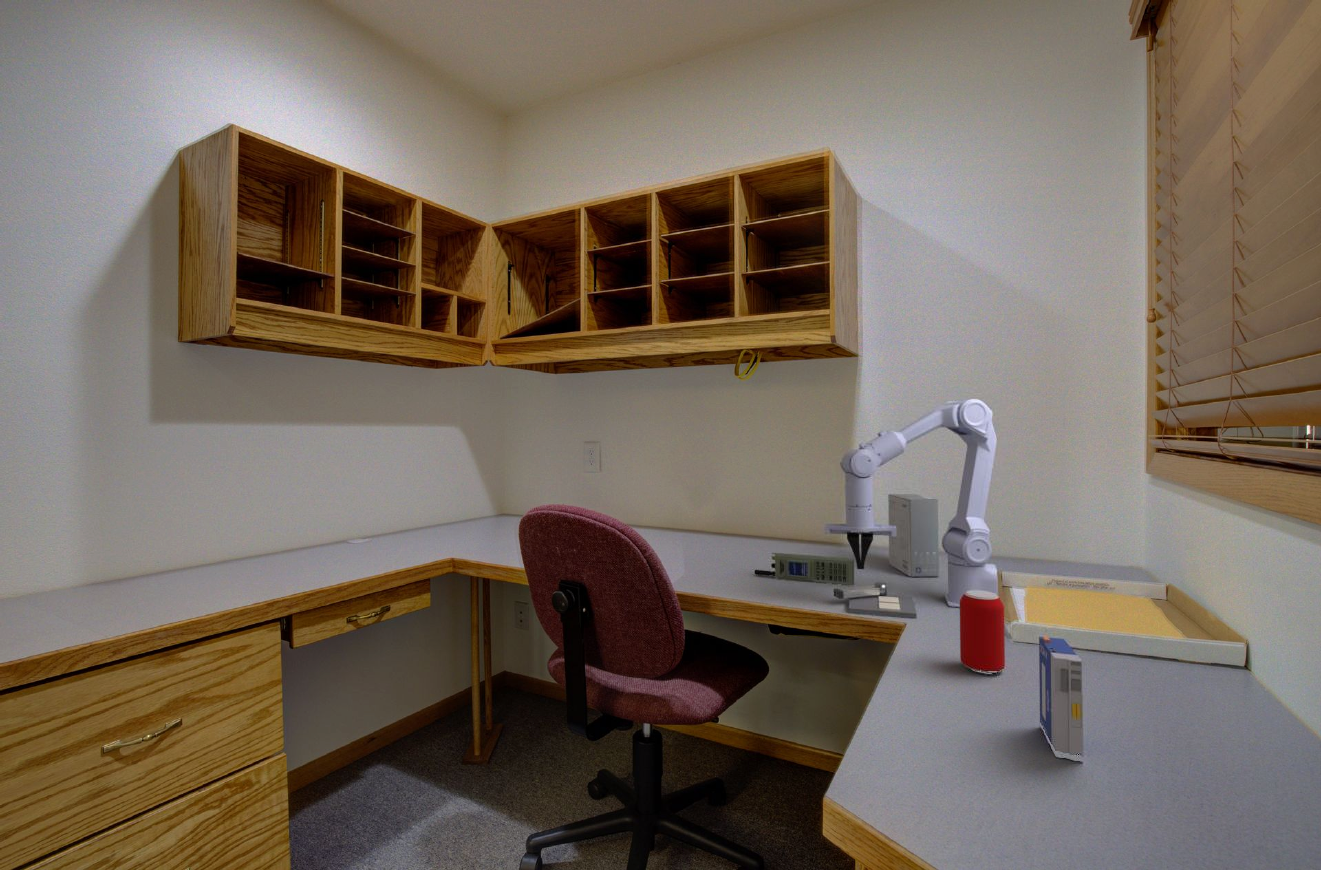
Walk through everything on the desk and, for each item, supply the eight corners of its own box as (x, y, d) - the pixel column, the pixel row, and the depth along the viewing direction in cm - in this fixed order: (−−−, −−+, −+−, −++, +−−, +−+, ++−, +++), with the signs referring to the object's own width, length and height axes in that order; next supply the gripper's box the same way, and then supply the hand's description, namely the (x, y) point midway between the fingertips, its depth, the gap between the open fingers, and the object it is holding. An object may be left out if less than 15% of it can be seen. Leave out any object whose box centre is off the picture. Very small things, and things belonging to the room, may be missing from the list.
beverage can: (1004, 680, 91) (1003, 601, 90) (958, 672, 94) (957, 596, 94) (1005, 666, 96) (1004, 591, 96) (962, 659, 99) (961, 586, 99)
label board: (912, 600, 132) (912, 594, 132) (916, 618, 120) (916, 612, 120) (850, 596, 137) (850, 590, 137) (848, 613, 124) (848, 606, 124)
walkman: (1039, 727, 76) (1038, 633, 76) (1065, 730, 75) (1064, 636, 75) (1055, 759, 69) (1054, 655, 69) (1083, 763, 68) (1082, 658, 68)
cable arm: (889, 595, 132) (889, 584, 132) (839, 599, 129) (839, 589, 129) (882, 592, 135) (882, 581, 135) (833, 596, 132) (833, 586, 132)
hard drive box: (940, 577, 152) (939, 499, 152) (909, 578, 152) (908, 499, 152) (915, 563, 168) (914, 492, 167) (887, 564, 168) (886, 493, 168)
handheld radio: (853, 587, 145) (752, 578, 156) (854, 584, 148) (756, 575, 159) (852, 559, 145) (752, 552, 156) (854, 557, 148) (756, 550, 159)
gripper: (894, 503, 130) (896, 565, 130) (825, 502, 135) (827, 562, 135) (896, 507, 123) (897, 573, 123) (823, 506, 128) (824, 569, 128)
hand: (860, 568), depth 129 cm, fingers closed
